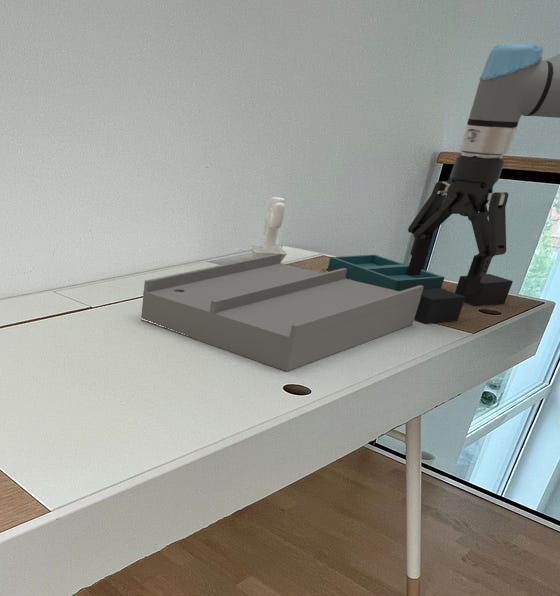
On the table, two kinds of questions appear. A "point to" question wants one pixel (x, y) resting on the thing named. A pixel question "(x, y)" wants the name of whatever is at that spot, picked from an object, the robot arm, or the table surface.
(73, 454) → the table surface
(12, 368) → the table surface
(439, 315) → the pad
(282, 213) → the figurine
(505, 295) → the pad
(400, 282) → the back divided tray
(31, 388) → the table surface
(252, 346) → the desk organizer
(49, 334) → the table surface
